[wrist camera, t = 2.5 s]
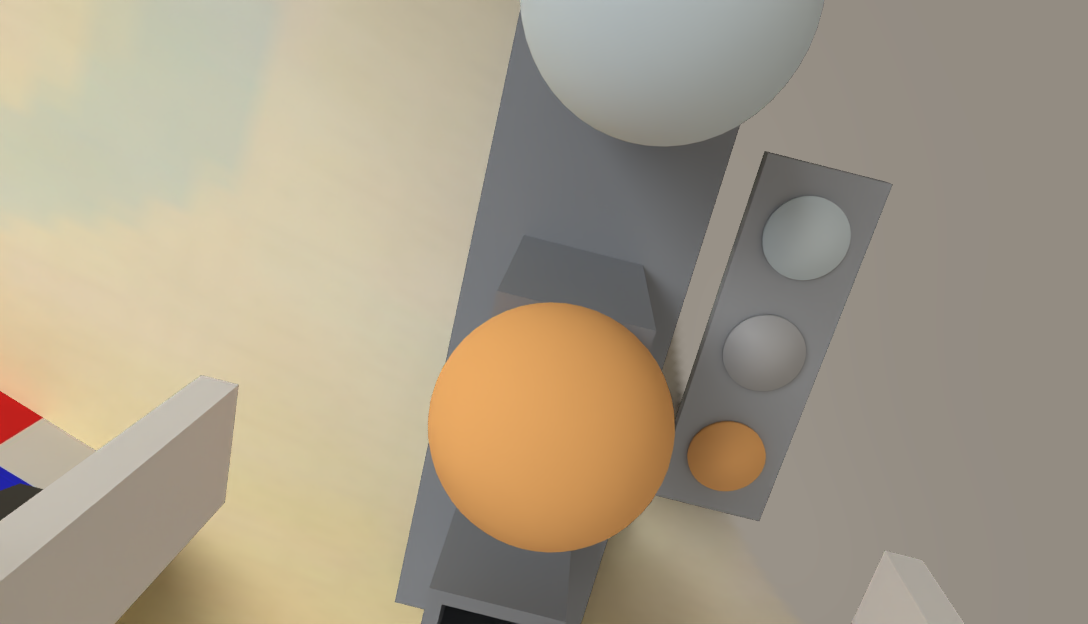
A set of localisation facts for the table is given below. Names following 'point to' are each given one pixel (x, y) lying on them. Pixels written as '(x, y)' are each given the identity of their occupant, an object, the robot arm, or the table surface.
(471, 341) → the orange ball
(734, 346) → the card
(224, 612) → the table surface
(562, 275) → the ball display stand
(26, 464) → the puzzle toy
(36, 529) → the robot arm
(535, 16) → the light gray ball
